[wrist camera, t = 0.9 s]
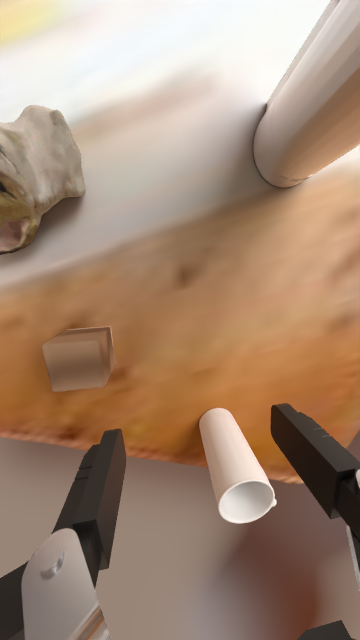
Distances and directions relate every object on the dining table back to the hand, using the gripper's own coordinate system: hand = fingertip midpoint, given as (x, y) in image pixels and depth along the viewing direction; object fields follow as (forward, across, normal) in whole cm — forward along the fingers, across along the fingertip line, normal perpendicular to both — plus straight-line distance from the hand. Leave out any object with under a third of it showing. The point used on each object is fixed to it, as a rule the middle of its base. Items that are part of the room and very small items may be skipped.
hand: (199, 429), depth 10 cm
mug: (+19, -8, +19) cm, 28 cm away
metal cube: (+19, +12, +1) cm, 23 cm away
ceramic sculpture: (+19, +14, -19) cm, 31 cm away
